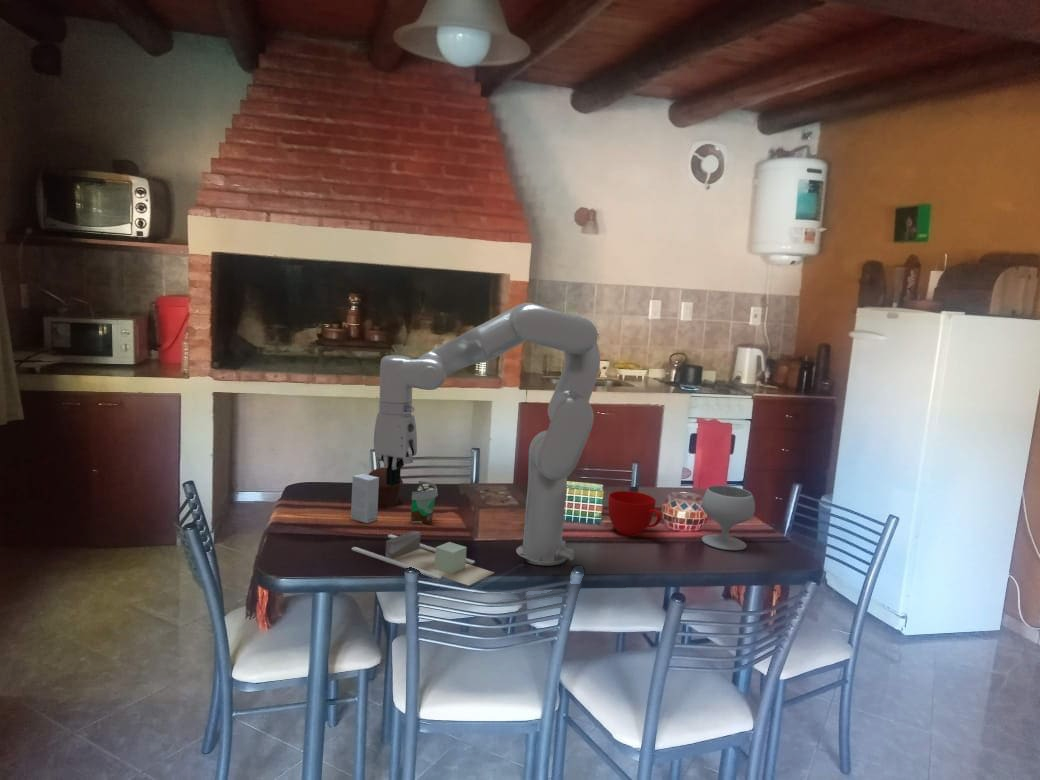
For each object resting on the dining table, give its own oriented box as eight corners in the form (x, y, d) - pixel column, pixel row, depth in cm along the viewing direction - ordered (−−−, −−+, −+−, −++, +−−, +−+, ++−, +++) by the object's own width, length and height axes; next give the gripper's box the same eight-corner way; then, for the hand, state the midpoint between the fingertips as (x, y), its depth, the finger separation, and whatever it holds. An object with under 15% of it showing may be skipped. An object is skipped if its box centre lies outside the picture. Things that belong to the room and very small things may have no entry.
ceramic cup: (641, 547, 202) (645, 511, 200) (595, 528, 215) (599, 494, 213) (672, 539, 210) (676, 504, 209) (627, 522, 223) (630, 488, 222)
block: (465, 568, 175) (466, 547, 174) (451, 574, 170) (453, 552, 170) (447, 562, 177) (449, 541, 177) (434, 568, 173) (435, 547, 172)
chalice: (750, 540, 215) (757, 489, 213) (749, 556, 202) (756, 501, 200) (699, 532, 219) (705, 481, 217) (695, 547, 206) (701, 493, 204)
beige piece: (494, 576, 173) (496, 555, 173) (468, 589, 165) (470, 567, 164) (413, 550, 186) (414, 530, 185) (385, 561, 178) (386, 540, 177)
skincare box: (377, 520, 207) (379, 477, 205) (366, 523, 203) (369, 480, 201) (360, 515, 210) (362, 473, 208) (349, 518, 206) (351, 475, 204)
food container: (432, 530, 202) (435, 494, 201) (409, 528, 202) (411, 492, 201) (438, 516, 214) (441, 481, 213) (417, 514, 214) (419, 480, 213)
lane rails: (474, 567, 179) (475, 560, 178) (437, 584, 167) (438, 577, 167) (390, 540, 192) (391, 534, 192) (351, 554, 181) (351, 548, 180)
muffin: (403, 508, 219) (405, 475, 217) (364, 509, 216) (366, 474, 214) (399, 496, 230) (401, 464, 228) (361, 496, 227) (363, 464, 226)
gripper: (430, 411, 178) (427, 487, 181) (382, 402, 186) (380, 475, 189) (409, 414, 172) (406, 493, 174) (360, 406, 180) (358, 481, 182)
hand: (393, 484), depth 181 cm, fingers closed
